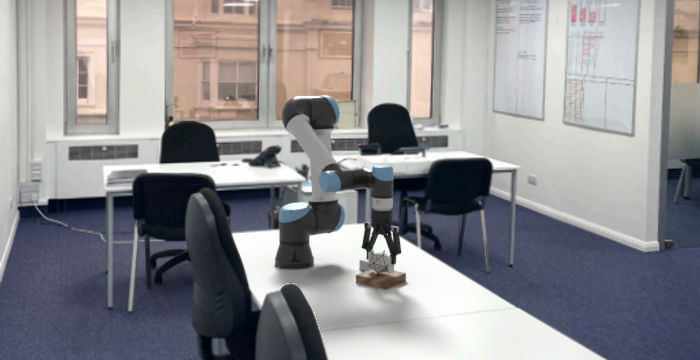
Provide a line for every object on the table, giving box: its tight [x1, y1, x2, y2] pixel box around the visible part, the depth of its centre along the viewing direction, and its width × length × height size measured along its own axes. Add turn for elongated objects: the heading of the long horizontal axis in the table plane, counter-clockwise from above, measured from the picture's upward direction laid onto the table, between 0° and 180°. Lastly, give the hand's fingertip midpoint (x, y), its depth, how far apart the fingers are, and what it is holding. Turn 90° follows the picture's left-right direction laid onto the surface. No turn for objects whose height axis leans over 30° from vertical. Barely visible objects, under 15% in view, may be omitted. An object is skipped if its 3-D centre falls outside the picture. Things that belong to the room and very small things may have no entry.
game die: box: [368, 250, 389, 276], centre depth 291 cm, size 9×8×10 cm
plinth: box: [355, 269, 407, 291], centre depth 292 cm, size 13×13×3 cm
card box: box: [359, 257, 368, 272], centre depth 310 cm, size 6×9×4 cm, turn 139°
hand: (381, 270), depth 292 cm, fingers closed on game die, 8 cm apart
